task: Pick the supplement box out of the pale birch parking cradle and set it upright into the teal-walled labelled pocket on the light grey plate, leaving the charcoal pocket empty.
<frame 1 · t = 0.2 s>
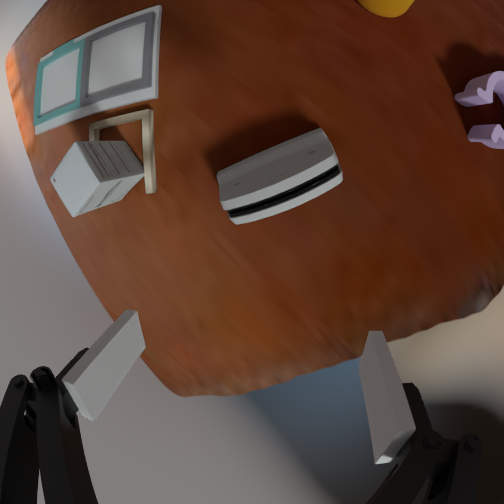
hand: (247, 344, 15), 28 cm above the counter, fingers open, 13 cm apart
gray curved slotted casing: (279, 173, 38), on the counter
pocket plate: (88, 71, 35), on the counter
supplement box: (123, 170, 41), on the counter, touching parking cradle
parking cradle: (123, 170, 41), on the counter
clip: (497, 110, 28), on the counter
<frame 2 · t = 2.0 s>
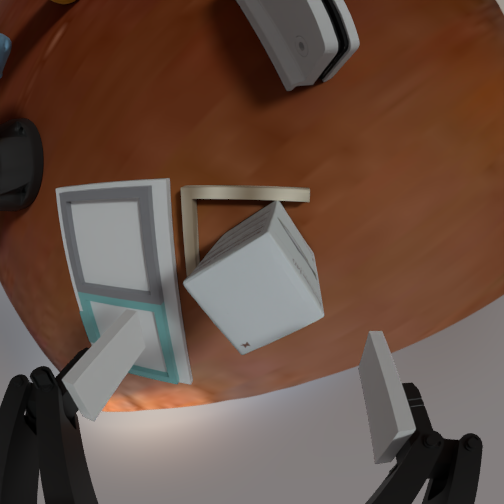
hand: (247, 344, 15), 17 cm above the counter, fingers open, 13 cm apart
gray curved slotted casing: (288, 21, 22), on the counter
pocket plate: (121, 291, 36), on the counter
supplement box: (268, 242, 30), on the counter, touching parking cradle
parking cradle: (268, 242, 30), on the counter
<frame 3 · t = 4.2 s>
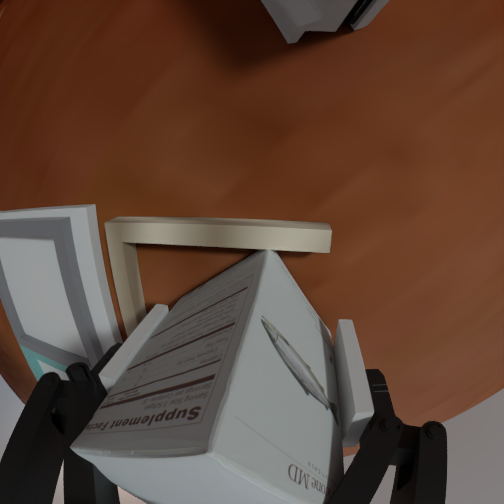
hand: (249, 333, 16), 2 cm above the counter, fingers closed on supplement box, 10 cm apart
pocket plate: (65, 350, 23), on the counter
supplement box: (255, 313, 18), on the counter, touching gripper, parking cradle
parking cradle: (255, 313, 18), on the counter
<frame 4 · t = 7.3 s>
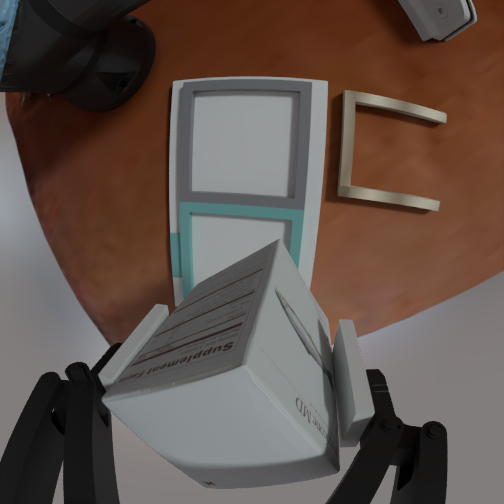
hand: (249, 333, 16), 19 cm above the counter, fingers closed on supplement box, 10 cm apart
pocket plate: (242, 202, 33), on the counter
supplement box: (262, 299, 20), point 15 cm above the counter, touching gripper
parking cradle: (412, 154, 28), on the counter
when the fingers open (7 cm above the counter, at t = 10.4 s): supplement box moves 1 cm, resting on pocket plate.
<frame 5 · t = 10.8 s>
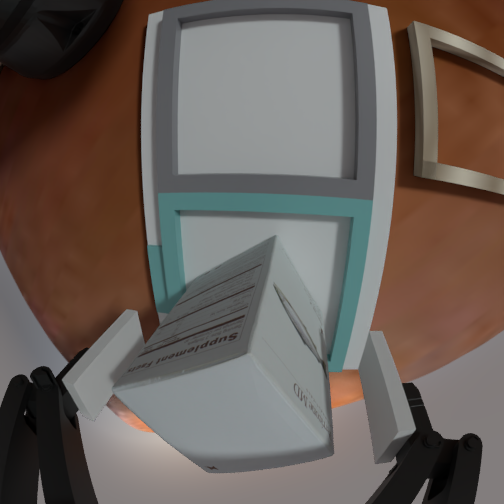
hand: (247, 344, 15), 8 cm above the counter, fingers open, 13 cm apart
pocket plate: (264, 189, 19), on the counter
supplement box: (259, 292, 21), point 1 cm above the counter, touching pocket plate
parking cradle: (499, 123, 14), on the counter
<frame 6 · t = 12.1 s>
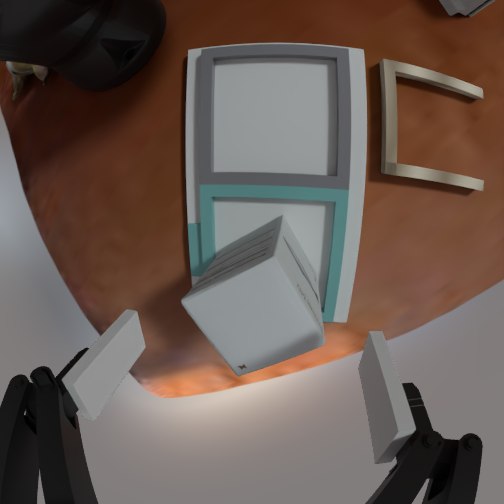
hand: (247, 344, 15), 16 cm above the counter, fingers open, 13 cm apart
pocket plate: (274, 183, 28), on the counter
supplement box: (270, 258, 29), point 1 cm above the counter, touching pocket plate
ceramic sculpture: (44, 53, 25), on the counter
parking cradle: (453, 131, 22), on the counter
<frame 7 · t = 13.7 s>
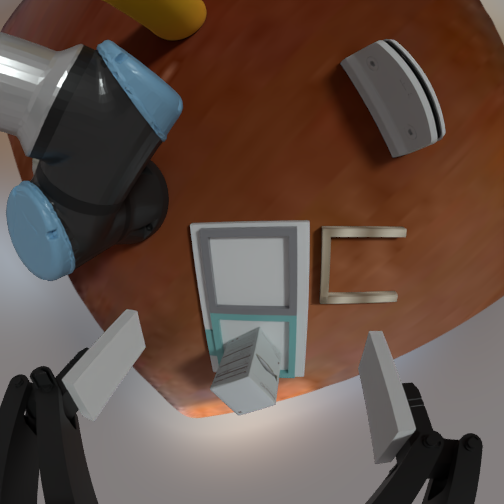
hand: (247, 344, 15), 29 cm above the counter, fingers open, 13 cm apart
gray curved slotted casing: (388, 100, 33), on the counter
pocket plate: (254, 308, 47), on the counter
beer bottle: (181, 20, 32), on the counter
supplement box: (255, 346, 49), point 1 cm above the counter, touching pocket plate
parking cradle: (376, 264, 41), on the counter
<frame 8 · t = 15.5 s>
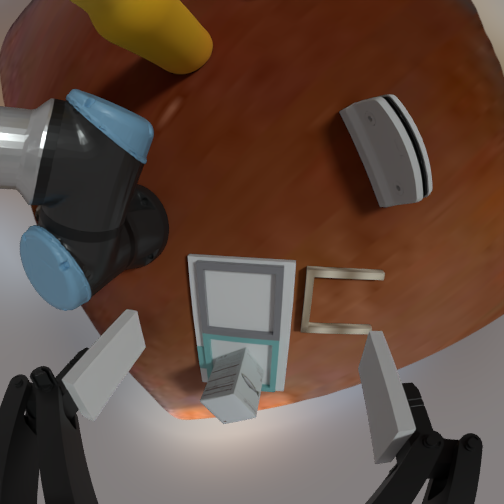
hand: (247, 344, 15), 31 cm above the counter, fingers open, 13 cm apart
gray curved slotted casing: (381, 150, 37), on the counter
pocket plate: (241, 331, 52), on the counter
beer bottle: (187, 51, 36), on the counter
supplement box: (241, 363, 53), point 1 cm above the counter, touching pocket plate
parking cradle: (354, 300, 46), on the counter
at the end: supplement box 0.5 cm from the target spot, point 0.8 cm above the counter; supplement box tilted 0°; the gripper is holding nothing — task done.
